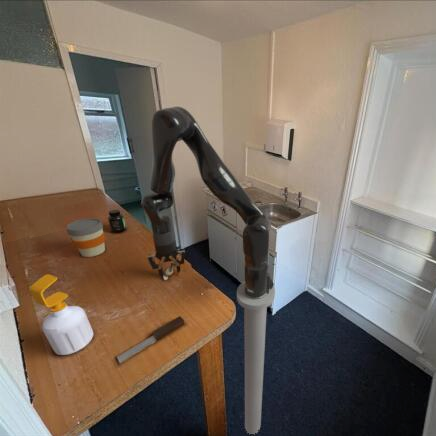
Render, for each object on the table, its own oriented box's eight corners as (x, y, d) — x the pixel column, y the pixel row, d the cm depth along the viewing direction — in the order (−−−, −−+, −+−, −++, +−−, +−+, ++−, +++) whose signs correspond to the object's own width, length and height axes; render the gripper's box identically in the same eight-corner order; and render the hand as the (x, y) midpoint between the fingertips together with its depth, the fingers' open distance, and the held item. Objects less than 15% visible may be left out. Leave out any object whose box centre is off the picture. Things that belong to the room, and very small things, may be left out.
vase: (176, 270, 104) (175, 259, 102) (178, 278, 100) (176, 266, 98) (163, 273, 102) (161, 262, 99) (164, 281, 98) (162, 270, 95)
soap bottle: (101, 334, 74) (76, 273, 64) (69, 360, 66) (35, 295, 56) (80, 325, 76) (53, 265, 66) (46, 350, 68) (10, 285, 58)
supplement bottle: (129, 229, 133) (124, 210, 128) (118, 234, 127) (113, 214, 122) (119, 226, 134) (114, 207, 129) (108, 232, 128) (102, 212, 123)
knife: (180, 319, 81) (180, 315, 80) (184, 324, 80) (184, 320, 79) (116, 357, 68) (115, 353, 67) (119, 364, 66) (118, 359, 66)
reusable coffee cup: (69, 259, 105) (58, 231, 98) (86, 245, 116) (76, 218, 110) (101, 258, 108) (92, 230, 101) (114, 244, 119) (106, 217, 112)
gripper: (142, 247, 87) (150, 282, 94) (184, 242, 93) (188, 275, 100) (144, 237, 93) (152, 271, 100) (183, 233, 99) (188, 265, 106)
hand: (170, 273), depth 100 cm, fingers closed on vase, 5 cm apart
